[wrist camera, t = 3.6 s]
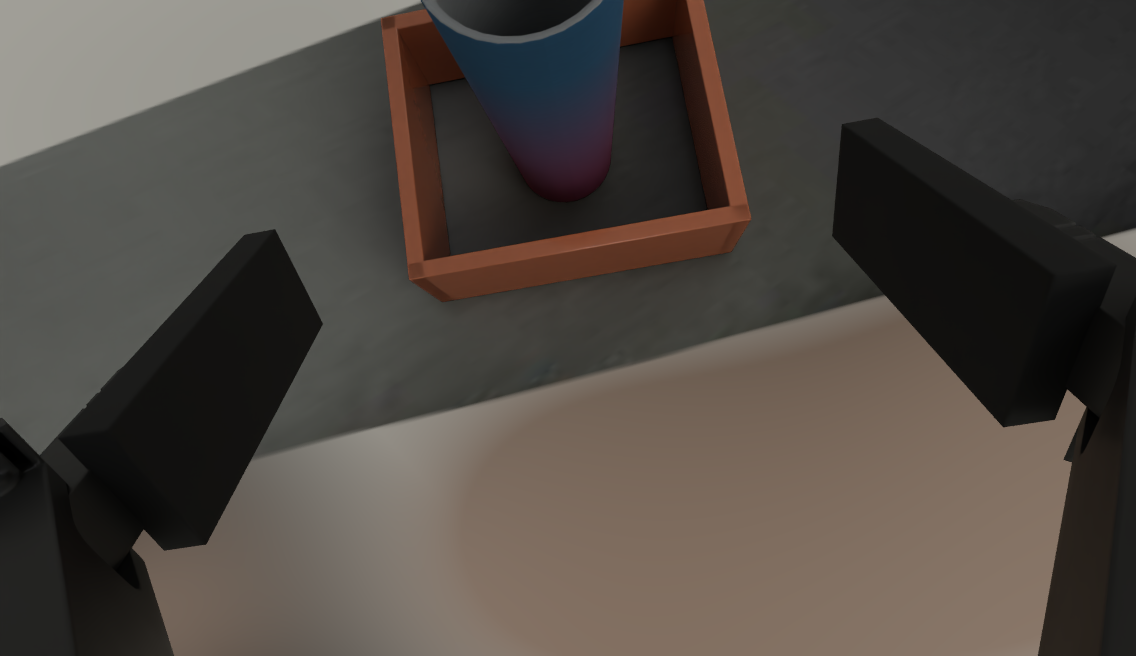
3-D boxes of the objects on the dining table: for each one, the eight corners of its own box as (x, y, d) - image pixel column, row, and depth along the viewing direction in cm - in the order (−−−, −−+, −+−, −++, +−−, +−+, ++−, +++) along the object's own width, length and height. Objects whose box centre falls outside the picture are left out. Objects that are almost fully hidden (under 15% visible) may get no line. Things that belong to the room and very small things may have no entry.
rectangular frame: (441, 302, 32) (408, 280, 27) (414, 75, 35) (380, 17, 30) (731, 252, 31) (751, 219, 26) (683, 21, 34) (693, -48, 29)
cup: (492, 121, 34) (387, -117, 19) (608, 87, 33) (596, -183, 19) (520, 232, 32) (432, 70, 18) (641, 198, 32) (656, 4, 17)
